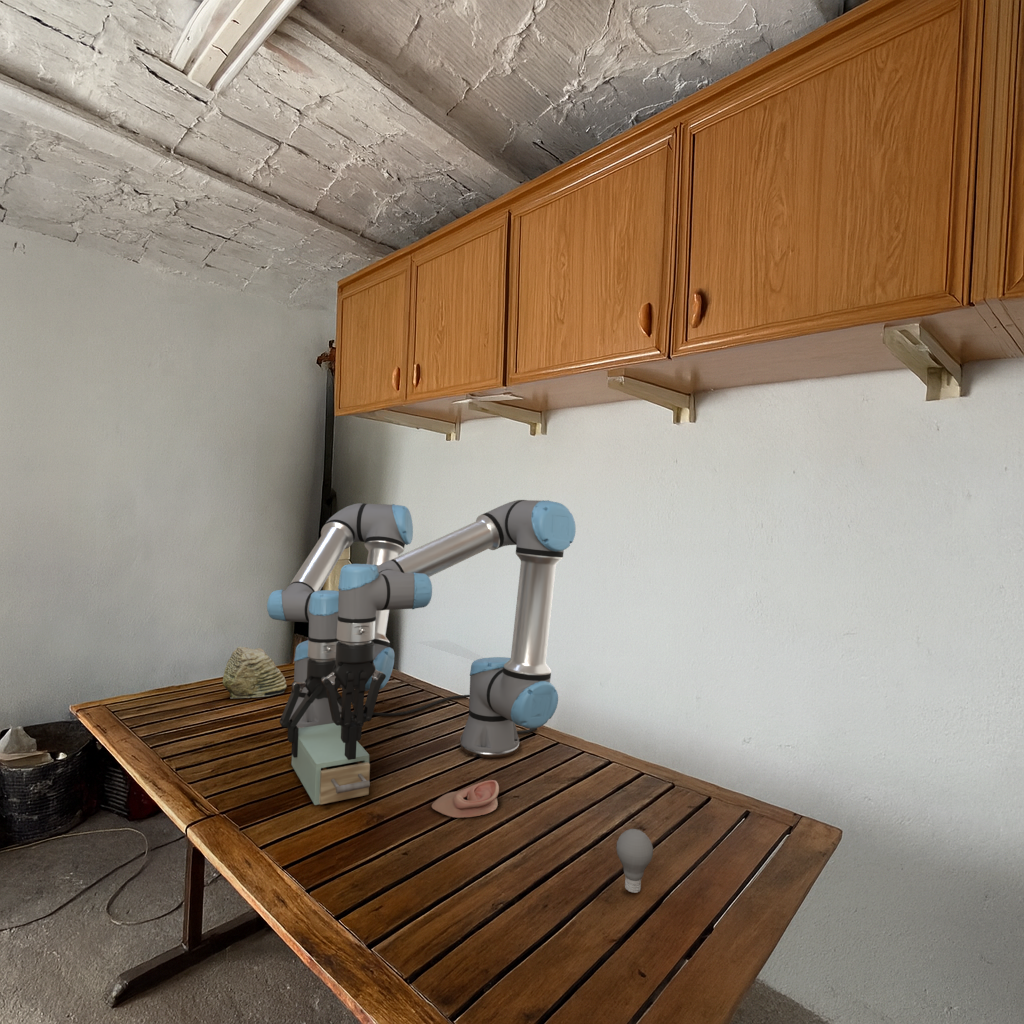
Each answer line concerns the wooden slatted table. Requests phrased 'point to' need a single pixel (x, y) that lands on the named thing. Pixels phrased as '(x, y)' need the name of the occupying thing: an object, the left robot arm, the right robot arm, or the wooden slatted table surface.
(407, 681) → the wooden slatted table surface
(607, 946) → the wooden slatted table surface
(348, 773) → the drawer
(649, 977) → the wooden slatted table surface
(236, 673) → the fossil
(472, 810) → the anatomical model
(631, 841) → the light bulb
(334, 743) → the cabinet
